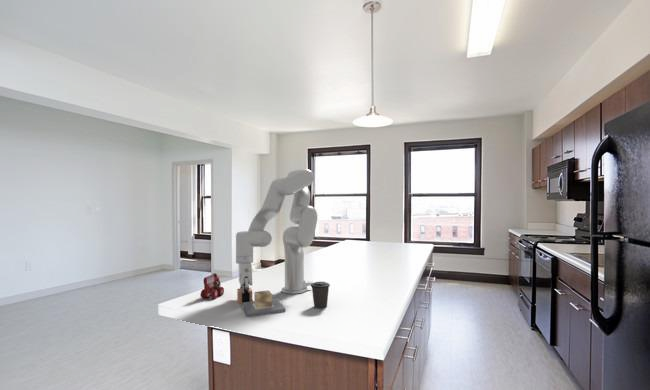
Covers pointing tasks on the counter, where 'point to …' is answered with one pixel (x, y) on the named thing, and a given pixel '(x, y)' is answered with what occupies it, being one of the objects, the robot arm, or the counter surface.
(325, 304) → the coffee cup
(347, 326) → the counter surface
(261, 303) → the oak brick
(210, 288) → the toy fire truck
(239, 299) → the terracotta brick
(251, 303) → the baseplate
